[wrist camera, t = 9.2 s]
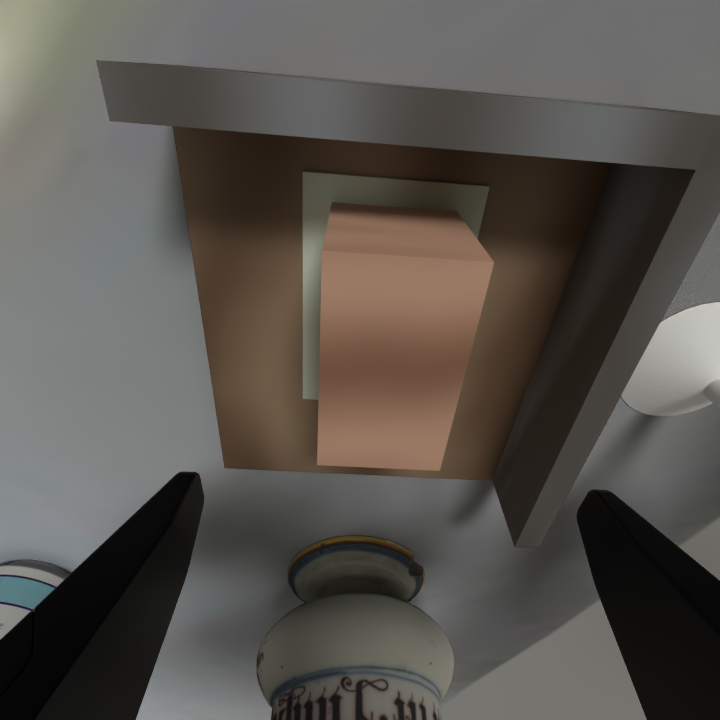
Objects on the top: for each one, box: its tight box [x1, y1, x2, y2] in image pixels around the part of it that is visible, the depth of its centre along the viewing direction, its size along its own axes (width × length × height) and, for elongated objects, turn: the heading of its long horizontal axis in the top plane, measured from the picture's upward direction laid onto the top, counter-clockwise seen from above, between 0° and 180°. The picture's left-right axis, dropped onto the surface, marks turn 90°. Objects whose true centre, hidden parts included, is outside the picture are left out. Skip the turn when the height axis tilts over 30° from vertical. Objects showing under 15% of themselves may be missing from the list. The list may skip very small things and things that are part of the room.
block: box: [317, 202, 494, 471], centre depth 15 cm, size 8×4×5 cm, turn 176°
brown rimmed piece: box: [96, 60, 720, 548], centre depth 17 cm, size 16×18×5 cm
